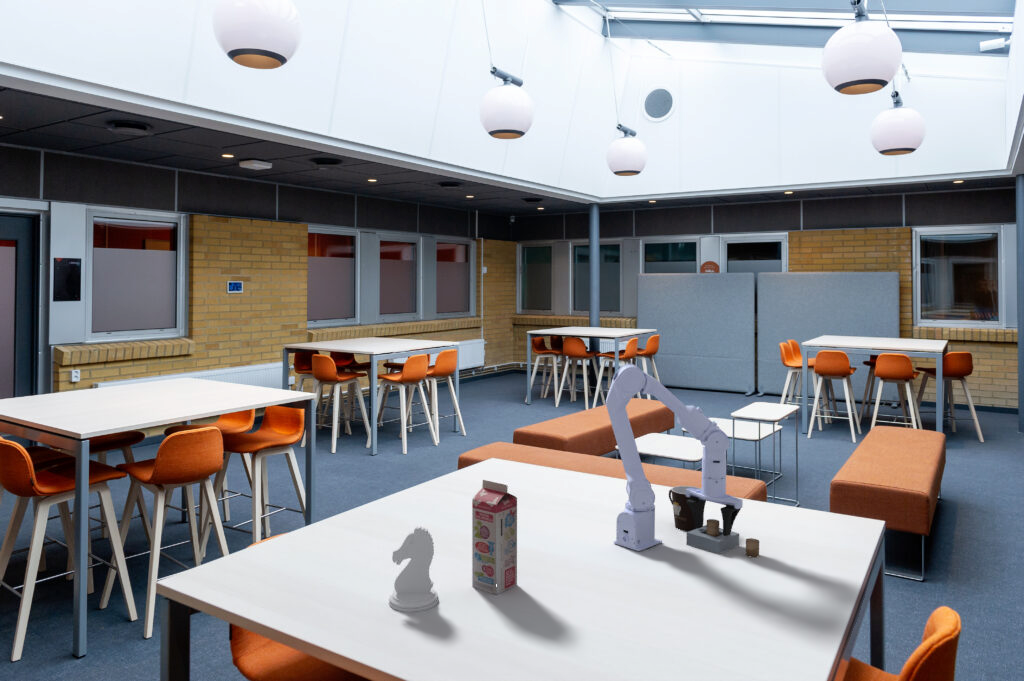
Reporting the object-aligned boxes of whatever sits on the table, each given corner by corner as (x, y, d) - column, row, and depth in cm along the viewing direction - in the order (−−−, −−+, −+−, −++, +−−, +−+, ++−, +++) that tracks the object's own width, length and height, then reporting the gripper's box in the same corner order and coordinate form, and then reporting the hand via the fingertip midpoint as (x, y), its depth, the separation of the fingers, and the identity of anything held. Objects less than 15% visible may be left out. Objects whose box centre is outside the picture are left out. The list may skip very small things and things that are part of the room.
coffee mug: (708, 532, 183) (708, 494, 183) (674, 532, 184) (675, 494, 183) (697, 519, 195) (697, 483, 194) (665, 518, 195) (666, 482, 195)
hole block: (718, 554, 168) (719, 541, 168) (686, 544, 175) (686, 532, 174) (738, 545, 174) (739, 533, 174) (706, 536, 181) (707, 524, 181)
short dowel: (754, 558, 166) (755, 543, 165) (743, 554, 168) (743, 540, 168) (761, 555, 168) (761, 540, 167) (749, 551, 170) (750, 537, 170)
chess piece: (392, 591, 146) (391, 519, 146) (440, 591, 147) (439, 519, 146) (385, 612, 137) (384, 535, 136) (436, 611, 137) (436, 535, 136)
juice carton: (492, 577, 154) (492, 476, 153) (516, 584, 150) (517, 481, 149) (472, 586, 149) (472, 482, 148) (496, 594, 145) (496, 488, 143)
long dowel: (715, 548, 172) (715, 523, 172) (704, 545, 174) (704, 521, 174) (721, 545, 174) (721, 521, 174) (710, 542, 176) (710, 518, 176)
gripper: (749, 479, 171) (748, 534, 171) (697, 468, 181) (696, 521, 182) (734, 484, 166) (732, 541, 167) (681, 473, 177) (680, 526, 177)
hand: (712, 531), depth 174 cm, fingers open, 7 cm apart
